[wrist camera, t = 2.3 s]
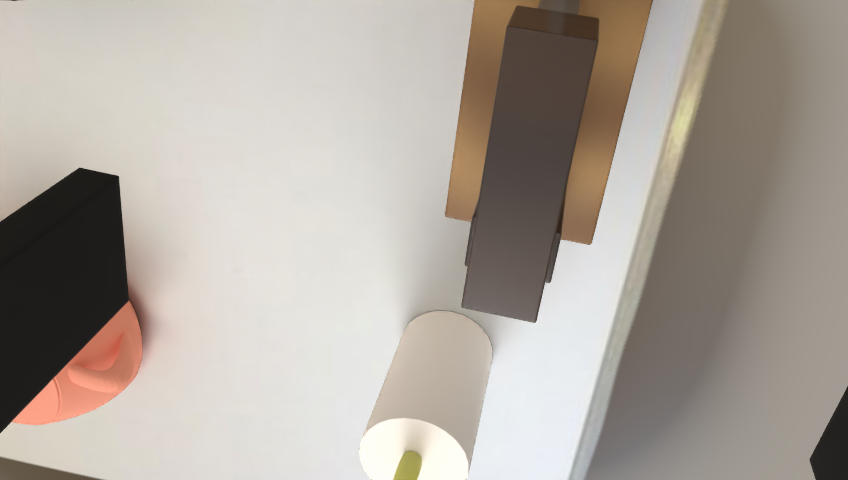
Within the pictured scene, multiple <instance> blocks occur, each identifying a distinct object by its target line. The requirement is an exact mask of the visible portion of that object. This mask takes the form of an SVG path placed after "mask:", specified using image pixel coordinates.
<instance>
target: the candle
mask: <svg viewBox="0 0 848 480" xmlns="http://www.w3.org/2000/svg"><path fill="white" fill-rule="evenodd" d="M492 352H493V349H492V346H491V343H490V339H489V338H488V336H487V335H486V333H485V332H484V330H483V329H482V328H481V327H480V326H479V325H478V324H477V323H476V322H474V321H472V320H471V319H469V318H467V317H466V316H464V315H461V314H457V313H454V312H449V311H433V312H427V313H425V314H422V315H420V316H417V317H416V318H415V319H414V320H412V321H411V322H410V323H409V324H408V325H407V327H406V328H405V330H404V332H403V334H402V337H401V339H400V342H399V345H398V347H397V350H396V352H395V355H394V357H393V360H392V363H391V365H390V368H389V370H388V373H387V375H386V378H385V381H384V383H383V386H382V388H381V391H380V393H379V396H378V399H377V401H376V404H375V406H374V409H373V411H372V414H371V417H370V419H369V422H368V424H367V427H366V429H365V432H364V435H363V437H362V440H361V444H360V447H359V453H360V461H361V463H362V466H363V468H364V470H365V472H366V473H367V474H368V476H369V477H370V478H371V480H466V479H467V477H468V474H469V469H470V464H471V460H472V455H473V450H474V445H475V440H476V435H477V431H478V426H479V421H480V416H481V411H482V407H483V402H484V397H485V392H486V387H487V383H488V378H489V373H490V368H491V363H492Z"/></svg>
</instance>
